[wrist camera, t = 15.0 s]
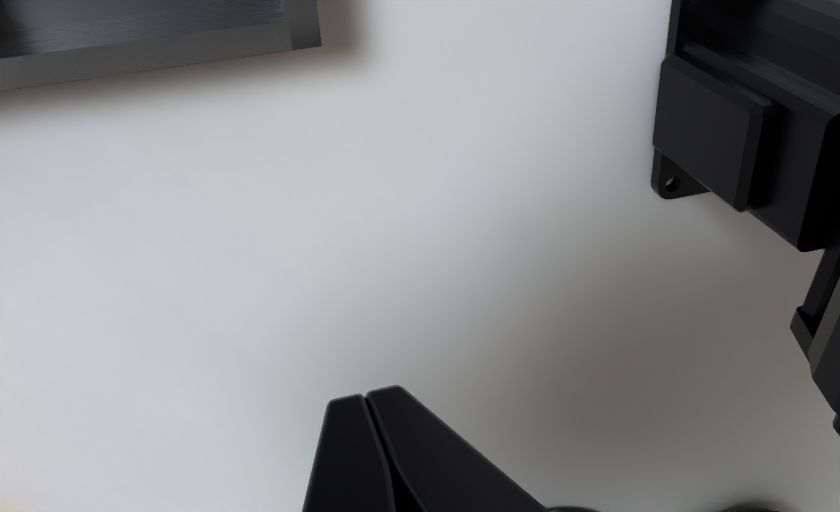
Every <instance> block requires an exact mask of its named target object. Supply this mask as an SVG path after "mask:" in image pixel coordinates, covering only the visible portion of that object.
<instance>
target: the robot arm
mask: <svg viewBox="0 0 840 512" xmlns="http://www.w3.org/2000/svg"><path fill="white" fill-rule="evenodd" d="M653 145H654V146H655V151H654V159H653V168H652V176H651V187H652V189H653V190H654V191H655V192H656V193H657V194H658V195H659V196H660V197H662V198H664V199H675V198H680V197H686V196H691V195H696V194H701V193H706V192H713V193H714V194H715V195H717V196H718V197H719V198H720V199H722V200H723V201H724V202H725V203H727V204H728V205H729V206H731V207H732V208H733V209H734V210H736V211H737V212H740V213H741V212H746V211H748V212H750V213H751V214H752V215H753V216H755V217H756V218H757V219H759V220H760V221H761V222H763V223H764V224H765V225H766V226H768V227H769V228H770V229H772V230H773V231H774V232H776V233H777V234H778V235H779V236H781V237H782V238H783V239H785V240H786V241H787V242H789V243H790V244H791V245H793V246H794V247H795V248H796V249H798V250H799V251H800V252H809V251H813V250H818V249H822V250H824V253H823V256H822V258H821V261H820V263H819V266H818V268H817V271H816V273H815V276H814V278H813V281H812V283H811V286H810V288H809V291H808V293H807V296H806V298H805V301H804V303H803V306H800V307H798V308H797V309H796V312H795V314H794V317H793V319H792V322H791V324H790V329H791V331H792V332H793V334H794V336H795V338H796V340H797V341H798V343H799V345H800V347H801V349H802V351H803V352H804V354H805V356H806V358H807V360H808V361H809V363H810V368H811V374H812V379H813V380H814V382H815V383H816V385H817V386H818V388H819V389H820V391H821V392H822V394H823V396H824V397H825V399H826V400H827V402H828V403H829V405H830V406H831V408H832V409H833V410H834V411H835V413H836V416H835V418H834V420H833V428H834V429H835V430H836V432H837V433H838V435H839V436H840V0H672V6H671V15H670V23H669V32H668V40H667V49H666V56H665V58H664V60H663V62H662V64H661V73H660V82H659V90H658V99H657V108H656V116H655V125H654V134H653ZM672 177H674V178H673V181H672V182H671V183H670V184H669V185H667V186H665V185H666V182H667V181H668V180H669V179H670V178H672ZM302 512H549V511H548V510H547V509H546V508H545V507H544V506H542V505H541V504H540V503H539V502H538V501H536V500H535V499H534V498H533V497H532V496H531V495H529V494H528V493H527V492H526V491H525V490H523V489H522V488H521V487H520V486H519V485H518V484H516V483H515V482H514V481H513V480H512V479H510V478H509V477H508V476H507V475H506V474H505V473H503V472H502V471H501V470H500V469H499V468H497V467H496V466H495V465H494V464H493V463H492V462H490V461H489V460H488V459H487V458H486V457H484V456H483V455H482V454H481V453H480V452H479V451H477V450H476V449H475V448H474V447H473V446H471V445H470V444H469V443H468V442H467V441H466V440H464V439H463V438H462V437H461V436H460V435H458V434H457V433H456V432H455V431H454V430H453V429H451V428H450V427H449V426H448V425H447V424H445V423H444V422H443V421H442V420H441V419H440V418H438V417H437V416H436V415H435V414H434V413H432V412H431V411H430V410H429V409H428V408H427V407H425V406H424V405H423V404H422V403H421V402H419V401H418V400H417V399H416V398H415V397H414V396H412V395H411V394H410V393H409V392H408V391H406V390H405V389H404V388H403V387H401V386H398V385H393V386H389V387H385V388H380V389H376V390H371V391H369V392H368V393H367V394H366V396H365V397H364V396H363V395H362V394H354V395H350V396H345V397H341V398H337V399H333V400H331V401H330V402H329V403H328V405H327V408H326V412H325V416H324V420H323V425H322V429H321V433H320V437H319V441H318V446H317V450H316V454H315V458H314V463H313V467H312V471H311V475H310V479H309V484H308V488H307V492H306V496H305V501H304V505H303V509H302Z"/></svg>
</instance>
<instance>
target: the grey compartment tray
mask: <svg viewBox="0 0 840 512" xmlns="http://www.w3.org/2000/svg"><path fill="white" fill-rule="evenodd" d="M318 46H322V45H321V37H320V29H319V21H318V13H317V5H316V0H0V91H3V90H10V89H17V88H24V87H31V86H39V85H46V84H53V83H60V82H67V81H75V80H82V79H89V78H96V77H103V76H110V75H118V74H125V73H132V72H139V71H146V70H153V69H161V68H168V67H175V66H182V65H189V64H196V63H204V62H211V61H218V60H225V59H232V58H239V57H247V56H254V55H261V54H268V53H275V52H282V51H290V50H297V49H304V48H311V47H318Z"/></svg>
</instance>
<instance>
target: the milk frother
mask: <svg viewBox="0 0 840 512" xmlns="http://www.w3.org/2000/svg"><path fill="white" fill-rule="evenodd" d="M549 512H587V511H581V510H575V509H561V510H552V511H549ZM736 512H778V511H772V510H767V509H759V508H758V509H747V510H740V511H736Z"/></svg>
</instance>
